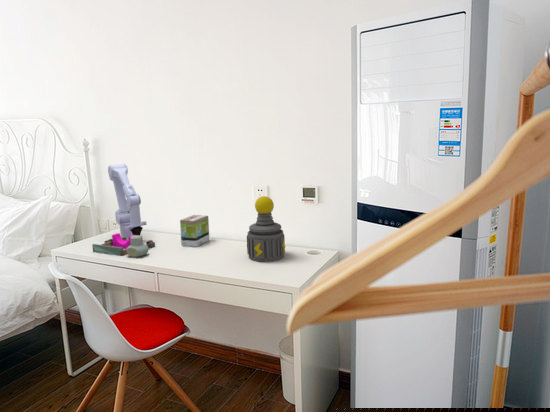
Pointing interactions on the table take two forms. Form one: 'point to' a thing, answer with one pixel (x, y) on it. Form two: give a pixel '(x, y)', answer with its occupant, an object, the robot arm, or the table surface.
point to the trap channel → (109, 248)
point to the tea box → (194, 230)
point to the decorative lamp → (265, 234)
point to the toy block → (120, 241)
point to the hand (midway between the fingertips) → (137, 239)
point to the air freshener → (137, 247)
